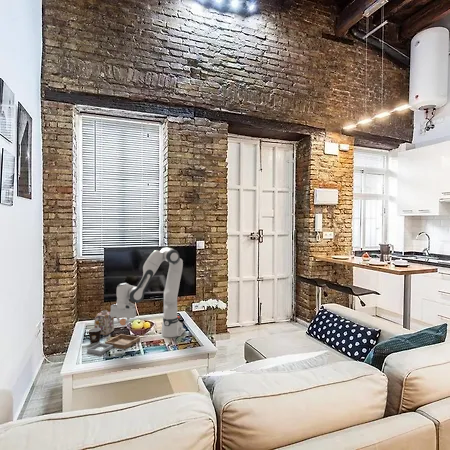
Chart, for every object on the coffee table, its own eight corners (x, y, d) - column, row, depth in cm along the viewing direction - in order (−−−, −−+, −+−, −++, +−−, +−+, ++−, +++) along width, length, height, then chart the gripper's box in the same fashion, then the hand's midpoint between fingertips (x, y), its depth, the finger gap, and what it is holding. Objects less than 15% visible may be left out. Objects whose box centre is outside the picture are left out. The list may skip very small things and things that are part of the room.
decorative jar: (107, 335, 264) (107, 313, 263) (93, 334, 266) (93, 312, 265) (114, 330, 276) (114, 309, 275) (101, 329, 277) (101, 308, 277)
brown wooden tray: (121, 338, 257) (121, 333, 257) (140, 341, 251) (140, 337, 250) (105, 346, 240) (105, 341, 240) (124, 350, 234) (124, 345, 234)
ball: (124, 323, 249) (124, 317, 249) (127, 325, 245) (127, 318, 245) (118, 325, 245) (118, 318, 245) (121, 326, 242) (121, 320, 242)
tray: (99, 346, 241) (99, 342, 241) (113, 348, 237) (113, 345, 237) (87, 352, 229) (87, 348, 229) (101, 355, 225) (101, 351, 225)
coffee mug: (103, 341, 251) (103, 328, 251) (96, 345, 242) (96, 332, 242) (90, 339, 254) (90, 327, 254) (83, 343, 246) (82, 330, 245)
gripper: (108, 305, 244) (108, 323, 245) (132, 306, 239) (133, 325, 240) (113, 303, 251) (113, 320, 251) (136, 304, 246) (137, 322, 246)
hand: (123, 322), depth 245 cm, fingers closed on ball, 5 cm apart
